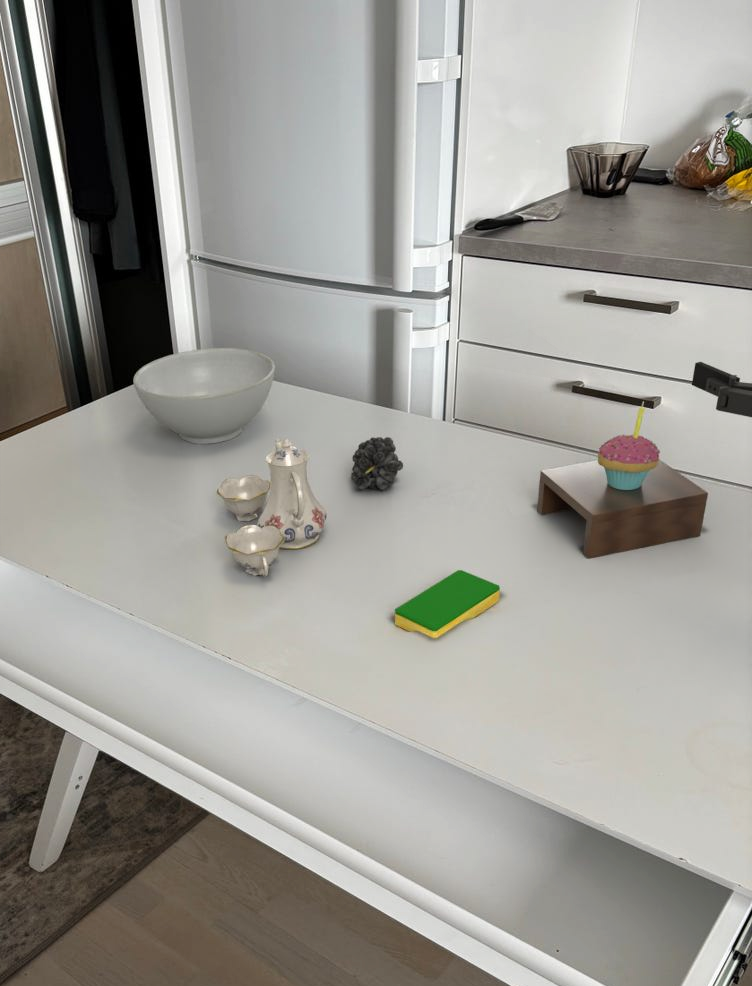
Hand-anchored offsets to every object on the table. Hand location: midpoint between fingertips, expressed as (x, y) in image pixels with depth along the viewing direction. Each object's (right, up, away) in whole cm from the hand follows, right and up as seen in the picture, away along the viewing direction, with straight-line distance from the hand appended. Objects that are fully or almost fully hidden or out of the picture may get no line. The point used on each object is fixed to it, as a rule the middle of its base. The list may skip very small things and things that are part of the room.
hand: (742, 362), depth 118 cm
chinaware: (-56, -18, +35) cm, 69 cm away
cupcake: (-5, -11, +26) cm, 29 cm away
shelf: (-4, -16, +31) cm, 35 cm away
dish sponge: (-33, -30, +15) cm, 47 cm away
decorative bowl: (-69, +7, +73) cm, 101 cm away
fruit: (-38, -6, +50) cm, 64 cm away
